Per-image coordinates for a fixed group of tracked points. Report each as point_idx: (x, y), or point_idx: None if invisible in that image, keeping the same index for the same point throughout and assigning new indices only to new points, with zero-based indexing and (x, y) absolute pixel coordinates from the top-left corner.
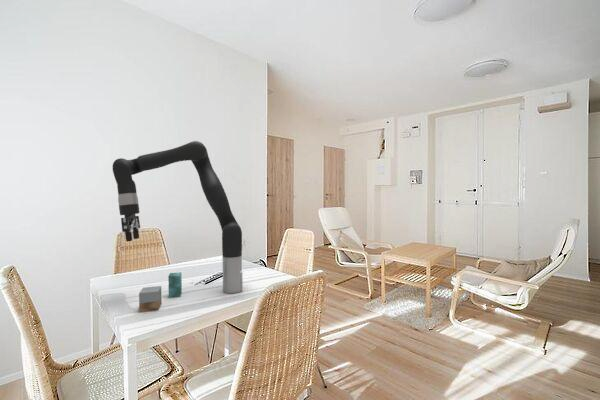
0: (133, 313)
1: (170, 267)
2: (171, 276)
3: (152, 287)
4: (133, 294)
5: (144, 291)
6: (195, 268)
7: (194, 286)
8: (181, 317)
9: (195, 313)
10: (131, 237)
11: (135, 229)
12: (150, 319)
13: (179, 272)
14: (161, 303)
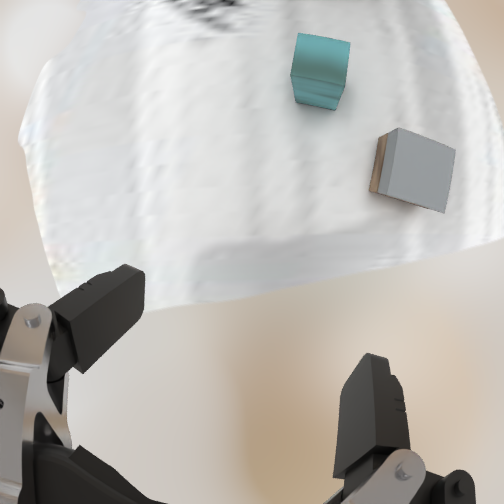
0: (411, 220)
1: (35, 136)
2: (346, 74)
3: (403, 161)
4: (232, 220)
5: (435, 193)
6: (70, 61)
7: (246, 32)
8: (484, 115)
9: (474, 81)
10: (391, 384)
11: (58, 357)
12: (468, 182)
13: (298, 39)
14: (379, 137)
